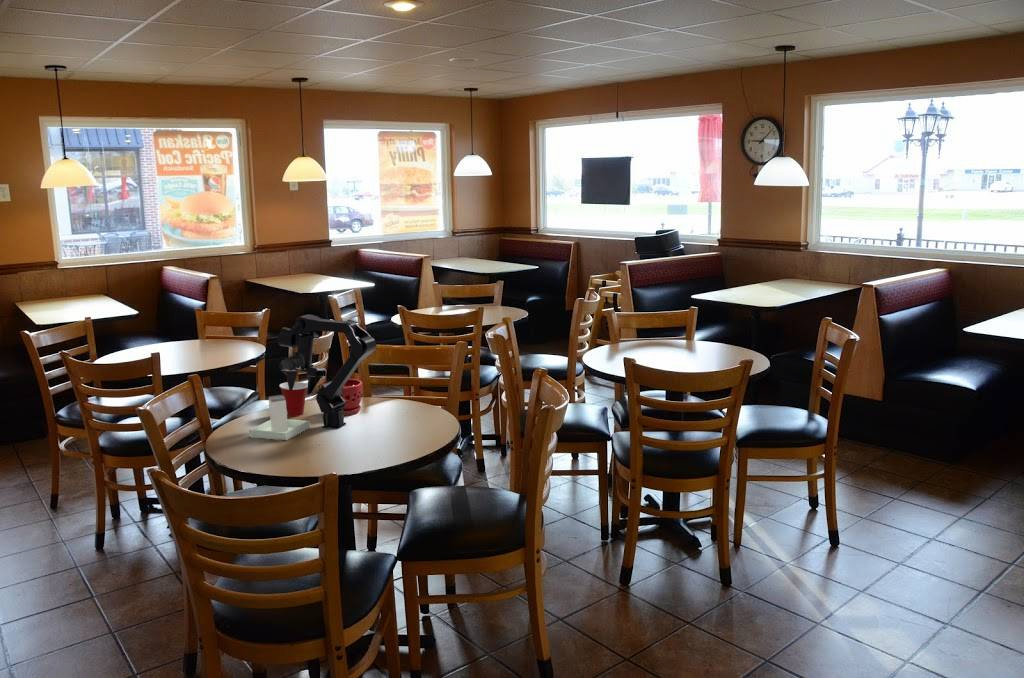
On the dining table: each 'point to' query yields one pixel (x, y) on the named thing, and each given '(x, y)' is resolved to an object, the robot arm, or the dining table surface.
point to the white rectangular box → (278, 413)
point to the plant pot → (352, 396)
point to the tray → (265, 432)
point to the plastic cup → (294, 397)
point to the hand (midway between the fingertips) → (299, 392)
